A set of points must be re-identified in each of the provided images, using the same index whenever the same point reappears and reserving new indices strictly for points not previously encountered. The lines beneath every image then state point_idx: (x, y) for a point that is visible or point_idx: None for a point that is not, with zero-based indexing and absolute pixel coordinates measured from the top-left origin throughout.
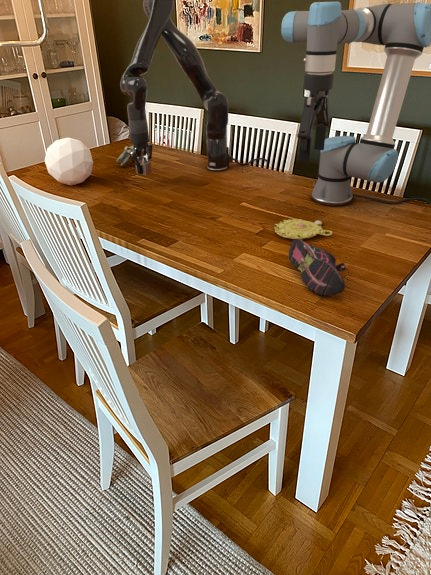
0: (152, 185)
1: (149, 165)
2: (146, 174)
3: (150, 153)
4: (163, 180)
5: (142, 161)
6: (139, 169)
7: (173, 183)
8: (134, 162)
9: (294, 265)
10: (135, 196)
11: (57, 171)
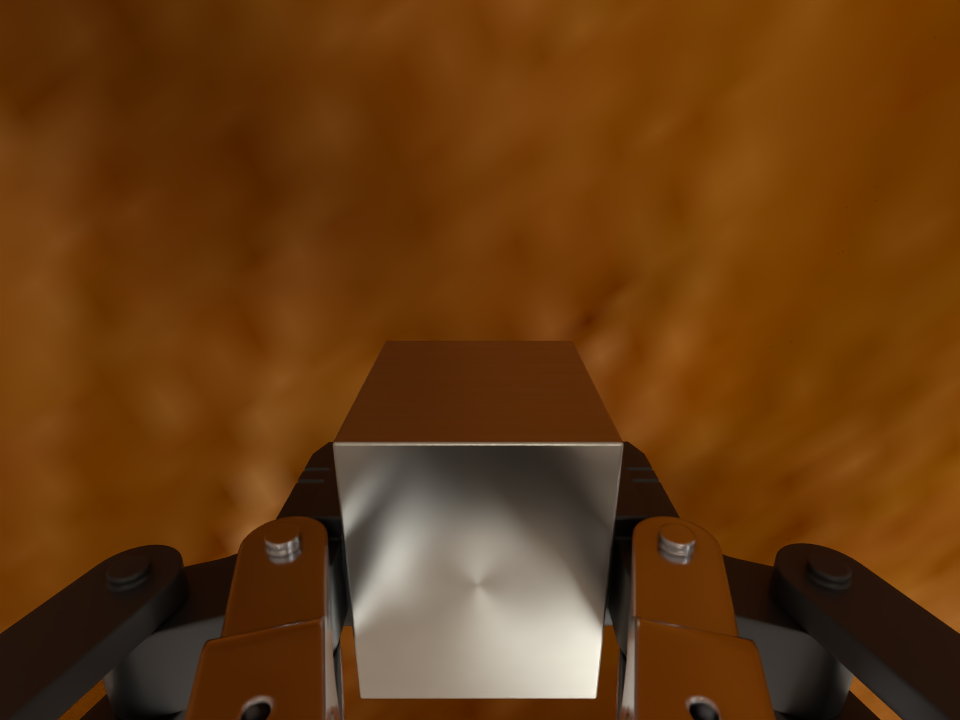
0: (437, 279)
1: (416, 409)
2: (570, 345)
3: (13, 709)
4: (195, 248)
5: (383, 647)
6: (663, 498)
7: (215, 10)
8: (838, 702)
9: None
10: (887, 253)
11: None
